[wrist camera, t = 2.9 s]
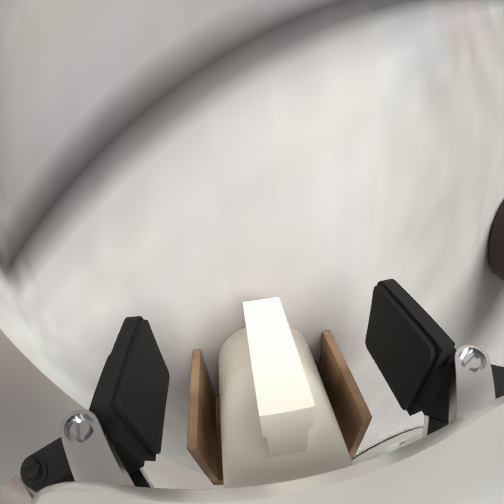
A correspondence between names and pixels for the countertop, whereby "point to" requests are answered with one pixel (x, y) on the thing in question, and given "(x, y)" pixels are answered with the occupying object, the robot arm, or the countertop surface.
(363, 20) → the countertop surface
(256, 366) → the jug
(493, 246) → the bottle
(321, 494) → the robot arm
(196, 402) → the caddy
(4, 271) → the countertop surface
